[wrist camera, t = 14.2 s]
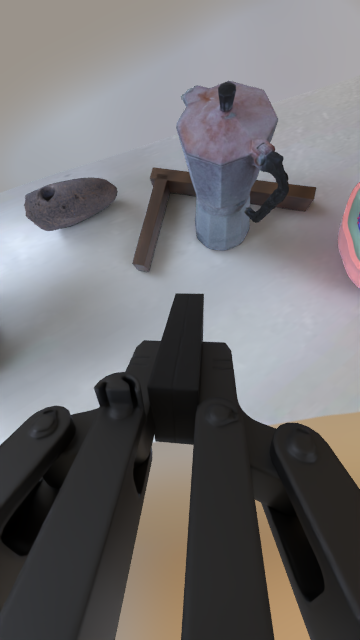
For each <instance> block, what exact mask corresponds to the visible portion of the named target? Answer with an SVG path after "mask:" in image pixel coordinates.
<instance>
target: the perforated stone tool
mask: <svg viewBox="0 0 360 640" xmlns="http://www.w3.org/2000/svg"><path fill="white" fill-rule="evenodd" d="M116 196H117V188H116V187H115V186H114V185H113V184H111V183H110V182H108V181H107V180H104V179H100V178H79V179H73V180H68V181H63V182H58V183H54V184H50V185H47V186H44V187H42V188H40V189H38V190H35V191H33V192H31V193H29V194H27V195H26V196H25V199H26V200H25V204H24V206H25V210H26V217H28V219H30V220H31V221H32V222H34V223H35V224H36V225H37V226H39V227H40V228H41V229H43V230H46V231H52V230H57V229H61V228H65V227H69V226H72V225H74V224H76V223H79V222H81V221H83V220H85V219H87V218H89V217H91V216H93V215H95V214H97V213H98V212H100V211H102V210H103V209H105V208H106V207H108V206H109V205H110V204H111V203H112V202H113V201H114V200H115V198H116Z"/></svg>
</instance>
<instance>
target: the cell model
mask: <svg viewBox="0 0 360 640" xmlns="http://www.w3.org/2000/svg"><path fill="white" fill-rule="evenodd" d="M338 248H339V252H340V256H341V258H342V261H343V264H344V267H345V270H346V273H347V275H348V276H349V278H350V279H351V281H352V282H353V283H354V284H355V285H356V286H357V287H358V288H359V289H360V182H359V183H358V184H357V185H356V187H355V188H354V189H353V191H352V193H351V195H350V198H349V200H348V203H347V205H346V208H345V211H344V214H343V217H342V220H341V223H340V227H339V231H338Z"/></svg>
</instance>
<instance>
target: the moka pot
mask: <svg viewBox="0 0 360 640" xmlns="http://www.w3.org/2000/svg"><path fill="white" fill-rule="evenodd" d="M181 99H182V100H183V101H184V103H185V105H186V109H185V111H184V112H183V113H182V115H181V117H180V118H179V120H178V122H177V127H176V128H177V131H178V135H179V139H180V142H181V145H182V149H183V152H184V155H185V159H186V163H187V166H188V170H189V173H190V177H191V180H192V183H193V186H194V189H195V192H196V196H197V198H196V217H195V224H196V234H197V238H198V239H199V240H200V241H201V242H202V243H203V244H204V245H205V246H206V247H208V248H211V249H214V250H228V249H230V248H233V247H235V246H237V245H239V244H241V243H242V241H243V240H244V238H245V237H246V235H247V232H248V230H249V222H250V219H251V220H252V221H253V222H255V223H257V222H259V221H260V220H262V219H263V218H264V217H265V216H266V215H267V214H268V213H270V211H271V210H272V209H273V208H275V207H276V206H277V205H278V204H279V203H281V202H283V200H284V199H285V197H286V196H287V194H288V192H289V185H288V175H287V173H286V172H285V171H284V168H283V165H282V161H283V156H281V155H280V154H278V153H277V152H275V147H274V146H273V145H272V144H270V141H271V139H272V136H273V133H274V131H275V128H276V125H277V122H278V118H277V116H276V113H275V111H274V109H273V107H272V105H271V103H270V101H269V99H268V97H267V95H266V93H265V91H264V90H262V89H259V88H255V87H251V86H247V85H243V84H239V83H236V82H232V81H227V82H225V83H222V84H220V85H217V86H215V87H212V88H206V87H202V86H194V88H190V89H188V90H187V91H186V93H185V94H183V95H182V96H181ZM260 170H261V171H263V172H269V173H270V174H272V175H273V176H274V177H275V178H276V182H277V183H278V187H277V189H275V190H274V191H273V193H272V194H271V195H270V197H269V198H267V200H266V201H265V202H264V204H263V205H262V206H261V209H259V210H258V211H256V212H255V211H253V210H252V209H251V208H250V191H251V188H252V186H253V184H254V183H255V181H256V179H257V176H258V173H259V171H260Z"/></svg>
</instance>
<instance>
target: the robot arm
mask: <svg viewBox="0 0 360 640" xmlns="http://www.w3.org/2000/svg"><path fill="white" fill-rule="evenodd" d="M203 305H204V294H176V295H175V298H174V301H173V304H172V307H171V311H170V314H169V317H168V320H167V324H166V327H165V330H164V333H163V336H162V340H161V341H147V340H144V341H143V342H142V343H141V344H140V345H138V346H137V347H136V349H135V352H134V354H133V357H132V358H131V360H130V363H129V365H128V367H127V369H126V372H120V373H114V374H111V375H108V376H106V377H105V378H103V379H102V380H100V381H99V382H98V383H97V384H96V386H95V387H94V389H95V392H96V395H97V399H98V402H99V405H100V407H99V408H97V409H94V410H91V411H87V412H82V413H77V414H73V415H70V413H69V410H67V409H66V408H64V407H61V406H52V407H47V408H45V409H43V410H40V411H38V412H36V413H35V414H34V415H32V416H31V417H30V418H29V419H27V420H26V421H25V422H24V423H23V424H22V425H21V426H20V427H19V428H18V429H17V430H16V431H15V432H14V433H13V434H12V435H11V436H10V437H9V438H8V439H7V440H5V441H4V442H3V443H2V444H1V445H0V640H115V636H116V632H117V627H118V622H119V616H120V612H121V607H122V603H123V598H124V593H125V588H126V583H127V578H128V574H129V569H130V564H131V559H132V554H133V549H134V544H135V540H136V535H137V530H138V525H139V520H140V515H141V511H142V506H143V500H144V495H145V491H146V486H147V482H148V477H149V472H150V467H151V462H152V447H151V446H152V442H153V437H154V435H155V441H159V442H170V443H181V444H192V445H194V449H193V464H192V479H191V495H190V510H189V526H188V541H187V557H186V573H185V588H184V603H183V604H184V605H183V619H182V634H181V640H274V634H273V627H272V619H271V612H270V605H269V599H268V591H267V584H266V577H265V570H264V563H263V555H262V548H261V541H260V534H259V527H258V520H257V512H256V506H255V500H257V501H259V502H261V503H262V506H263V509H264V512H265V514H266V517H267V520H268V523H269V526H270V528H271V531H272V534H273V537H274V540H275V542H276V545H277V548H278V551H279V553H280V556H281V559H282V562H283V564H284V567H285V570H286V573H287V576H288V578H289V581H290V584H291V587H292V589H293V592H294V595H295V598H296V601H297V603H298V606H299V609H300V612H301V614H302V617H303V620H304V623H305V625H306V628H307V631H308V634H309V636H310V639H311V640H360V489H359V488H358V486H357V485H356V483H355V482H354V480H353V479H352V478H351V476H350V475H349V473H348V472H347V470H346V469H345V468H344V466H343V465H342V463H341V462H340V461H339V459H338V458H337V456H336V455H335V453H334V452H333V451H332V449H331V448H330V446H329V445H328V443H327V442H326V441H325V440H324V439H323V438H322V437H321V436H320V435H319V434H318V433H317V432H315V431H314V430H312V429H311V428H309V427H307V426H304V425H302V424H299V423H285V424H283V425H280V426H279V427H278V428H277V429H276V428H273V427H270V426H267V425H265V424H262V423H259V422H257V421H255V420H253V419H252V418H250V417H249V416H248V415H246V414H245V412H244V411H243V410H242V409H241V407H240V405H239V403H238V400H237V393H236V385H235V377H234V369H233V361H232V354H231V350H230V348H229V347H228V346H227V344H226V343H220V342H203Z"/></svg>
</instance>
